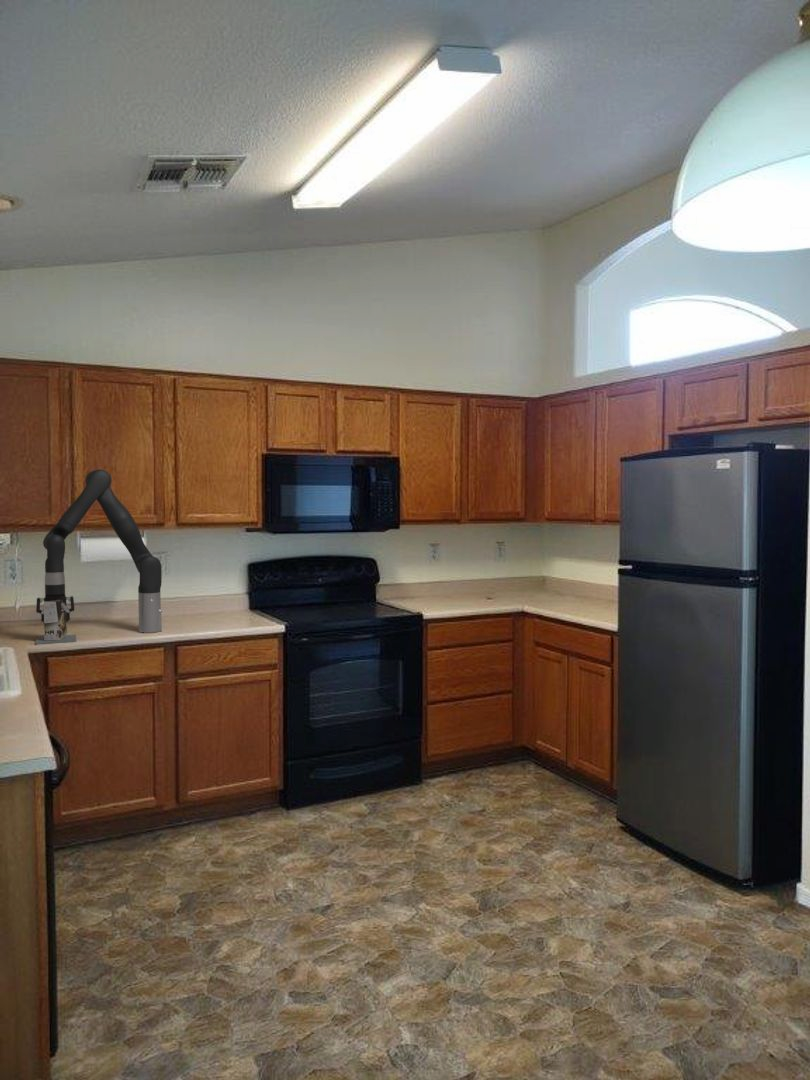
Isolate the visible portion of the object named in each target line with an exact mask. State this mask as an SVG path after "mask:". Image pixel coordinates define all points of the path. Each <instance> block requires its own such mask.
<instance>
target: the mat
mask: <svg viewBox="0 0 810 1080" xmlns="http://www.w3.org/2000/svg"><path fill="white" fill-rule="evenodd" d="M76 642H77V635H76V634H67V637H65V638H63V639H61V640H59V641H56V640H51V641H45V640H44V636H37V637H36V640H35V645H47V644H61V643H62V644H64V643H66V644H67V643H76Z"/></svg>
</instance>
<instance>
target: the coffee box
mask: <svg viewBox="0 0 810 1080" xmlns="http://www.w3.org/2000/svg"><path fill="white" fill-rule="evenodd" d="M64 605H66V606H67V600H66V601H65V602H64ZM43 609H44V623H43V629H44V631H43V633H44V635H43V637H44V640H45V641H51V640H56V641H59V640H61V639H63V638H65V637H67V635H68V622H66V611H65V610H64V609H63V600H53V601H43Z"/></svg>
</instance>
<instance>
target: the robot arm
mask: <svg viewBox="0 0 810 1080" xmlns="http://www.w3.org/2000/svg"><path fill="white" fill-rule="evenodd" d="M84 481H85V487H84V489H83V490H82V492H81V493H80V494H79V496H78V497H77V498H76V499H75V500H74V502H72V503H71V504H70V505H69V507H68V508H67V509H66V510H65V511H64V512H63V514H62V515H61V517H60V518H59V520H58V521H57V523H56V524H55V525H54V526H53V527H52V528H51V530H49V531H48V532H47V534H46V535H45V537H44V538H43V542H42V544H43V547H44V548H45V550H46V559H45V562H44V570H45V571H44V572H45V573H44V597H37V598H36V609H35V611H36V613H37V614H40V617H41V619H40V620H41V622H43V624H44V608H43V609H41V604H42V603H43V602H44V601H53V600H63V609H64V610H65V611H66V622H67V623H68V622H69V621H70V620H71V615H70V614H71V612H74V611H75V602H74V596H72V595H71V596H66V577H65V564H64V559H65V555H66V542H65V540H66V539H67V537H68V536H69V535H71V534H72V533H73V532H74V531H75V530H76V528H77V527H78V526H79V524H80V523H81V521H82V520H83V519H84V517H85V516H86V514H87V512H89V509H90V508H91V507H92V506H93V504H94V503H95V502H96V501H97V502H98V504H99V505H100V507H101V509H102V511H103V513H104V515H105V516H106V518H107V520H108V522H109V524H110V526H111V527H112V529H113V531H114V532H115V534H116V535H117V536H118V538H119V541H120V542H121V543H122V544H123V546H124V547H125V548H126V550H127V552H129V554H130V557H131V558H132V561H133V563H134V565H135V568H136V570H137V572H138V573H139V584H138V587H137V589H138V591H137V593H138V598H137V599H138V632H139V633H142V632H144V633H143V634H145V633H150V634H152V633H159V632H162V630H163V629H162V626H163V625H162V624H163V623H162V622H163V621H162V609H161V607H162V605H161V597H162V596H161V587H162V580H163V579H162V575H163V574H162V573H163V572H162V571H163V569H162V563H161V560H159V558H158V557H156V556H154V555H152V553H151V552H150V551H149V549H148V547H147V545H146V544H145V543H144V540H143V537H142V534H141V532H140V529H139V526H138V524H137V523H136V521H135V518H134V517H133V516H132V514H131V513H130V511H129V510H128V509H127V508H126V506H125V505H124V504H123V503H122V502H121V501H120V500H119V499H118V497H117V496H116V495H115V492H114V491H113V489H112V487H111V485H112V476H111V475H110V473H109V472H108V471H107V470H104V469H94V470H91V471H89V472H88V473H87V474H86V475H85V479H84ZM65 601H66V602H67V601H68V603H70V608H68V606H67V604H66V605H64V602H65Z"/></svg>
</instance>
